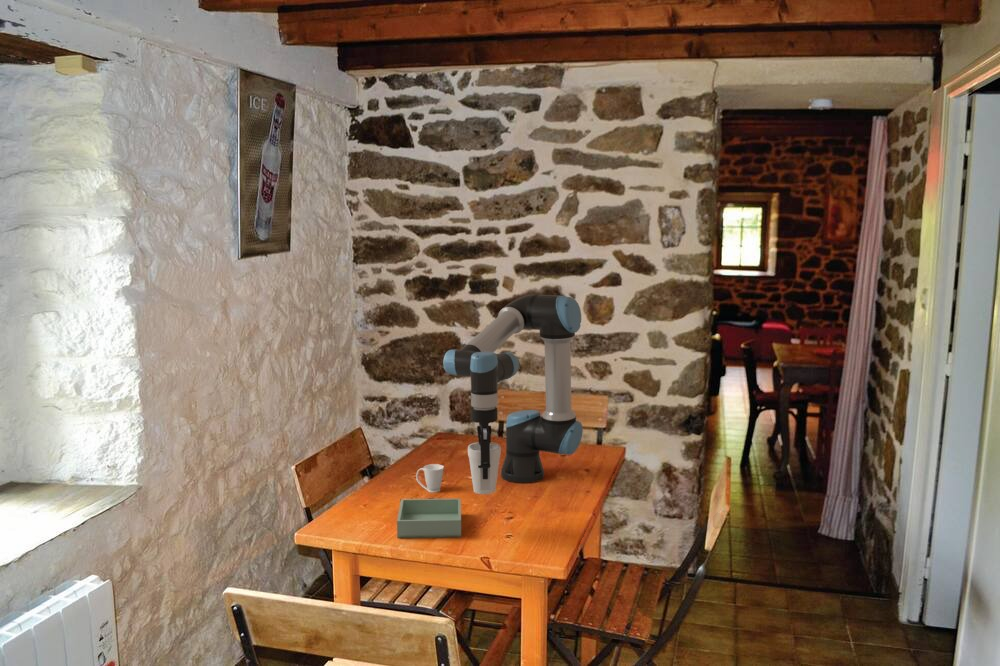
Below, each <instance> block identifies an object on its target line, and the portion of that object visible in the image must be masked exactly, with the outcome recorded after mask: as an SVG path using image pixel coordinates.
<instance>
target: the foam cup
mask: <svg viewBox="0 0 1000 666" xmlns="http://www.w3.org/2000/svg"><path fill="white" fill-rule="evenodd" d="M501 451H502V446H501V444H499V443H497V442H492V441H491V443H490V490H480V468H478V465H481V450H480V444H479V441H478V442H473V443H470V444H469V445H467V456H468V460H469V467H470V473H471V474H470V475H471V481H472V488H473V493H475V494H479V495H490V494H494V493H495V492H496V489H497V481H498V474H499V468H500V467H499V466H500V458H501V455H502V453H501Z"/></svg>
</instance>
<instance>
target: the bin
mask: <svg viewBox="0 0 1000 666" xmlns="http://www.w3.org/2000/svg"><path fill="white" fill-rule="evenodd" d="M396 519H397V520H396V538H397V539H419V538H421V539H425V538H426V539H427V538H428V539H431V538H440V539H441V538H462V502H461V498H404V499H403V498H401V499H400V503H399V508H398V515H397V518H396Z"/></svg>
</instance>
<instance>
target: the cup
mask: <svg viewBox="0 0 1000 666" xmlns="http://www.w3.org/2000/svg"><path fill="white" fill-rule="evenodd" d="M444 468H445V466H444V465H442V464H439V463H431V464H426V465H424V466H423V467H421V468H419V469H417V471H416V473H415V478H416V482H417V483H418V485H420V486H421V487H422V488H423V489H425V491H427V492H429V493H439V492H440V491H441V486H442V483H443V474H444ZM420 471H423V473H424V480H425V484H426V486H425V485H424V484H423V483H422V482H421V481H420V479H419V472H420Z"/></svg>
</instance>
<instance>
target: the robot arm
mask: <svg viewBox="0 0 1000 666" xmlns="http://www.w3.org/2000/svg"><path fill="white" fill-rule="evenodd" d="M581 323H582V311H581V307H580V305H579V303H578V301H577V300H576V299H575V297H572V296H564V295H554V294H553V295H552V294H551V295H550V294H536V293H535V294H526V295H523V296H520V297H518V298H516V299H513V301H511V302H510V303H508V304H506V305H505V306H504V307H502V308H501V309H500V311H499V312H498V315H497V317H496V318H495V319H493V320H492V321H491V322H490V323H489V324H488V325H487V326H486V327H484V328H483V329H482V330H480V332H479V333H477V334H476V335H475V336H474V337H473V338H472V339H471V340H470V341H468V342H467V343H466V344H465V345H464V346H463V347H462V348H460V349H449V350H446V353H445V354H444V356H443V361H442V362H443V363H442V364H443V369H444V371H445V372H446V373H447V374H448V375H453V376H456V377H457V376H458V377H459V376H460V377H461V376H462V377H470V395H469V396H468V399H469V400H470V406H471V408H470V421H472V422H473V423H476V424H478V425H477V426H476V430H477V438H478V442H479V444H480V450H481V465H478V468H480V490H490V443H491V442H492V437H491V435H492V426H491V425H489V424H491V423H495V422H497V421H498V403H499V402H498V401H499V399H498V394H499V393H498V383H500V382H502V381H505V380H508V379H510V378H512V377H514V376H516V374H517V373H518V372H519V370H520V362H519V359H518V358H517V356H516V355H515V354H514V353H512V352H507V351H506V352H500V353H496V351H497V350H498V349H499V348H500V347H501V346H502V345H503V344H504V343H505V342H507V340H509V339H510V338H511V336H513V335H515V334H519V333H520V332H522V331H523V330H538V331H539V338H540V339H541V340H542V341H543V342H544V379H545V380H544V382H545V383H544V385H545V386H544V387H545V410H544V411H543V412H542V413H541V412H540V411H539V410H536V409H525V410H517V411H514V412H511V413H510V414H508V415H507V417H506V425H505V429H506V430H505V432H506V433H505V444H506V445H505V452H506V453H505V458H504V460H503V464H502V466H501V469H500V477H501V479H503V480H504V481H507V482H512V483H517V484H519V483H520V484H528V483H529V484H530V483H535V482H539V481H541V480H543V479H544V477H545V469H544V467H543V463H542V458H541V456H540V452H541V451H542V452H547V453H551V454H557V455H561V456H562V455H566V456H567V455H568V456H571V455H574V453H576V451H577V450H578V448H579V446H580V443H581V442H582V437H583V432H584V428H583V424H582V422H581V421H579V420H577V414H576V412H575V411H574V410H573V409H572V373H571V372H572V370H571V368H572V367H571V365H572V364H571V363H572V362H571V341H572V340H573V339H574V338H575V336H576V333H577V332H579V330H580V328H581V326H582V325H581Z"/></svg>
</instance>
